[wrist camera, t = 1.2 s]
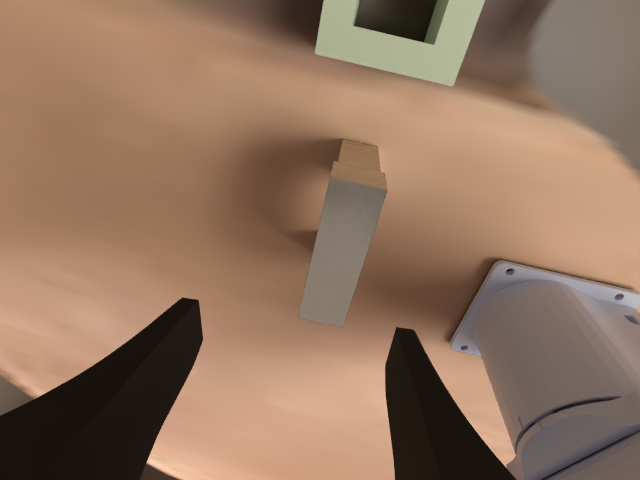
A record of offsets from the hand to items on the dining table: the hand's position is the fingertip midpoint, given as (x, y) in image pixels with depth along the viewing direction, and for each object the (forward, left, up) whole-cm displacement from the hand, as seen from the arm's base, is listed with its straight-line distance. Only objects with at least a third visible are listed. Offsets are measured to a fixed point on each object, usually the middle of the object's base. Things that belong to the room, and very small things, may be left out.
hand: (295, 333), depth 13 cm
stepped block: (-1, 0, -11) cm, 11 cm away
